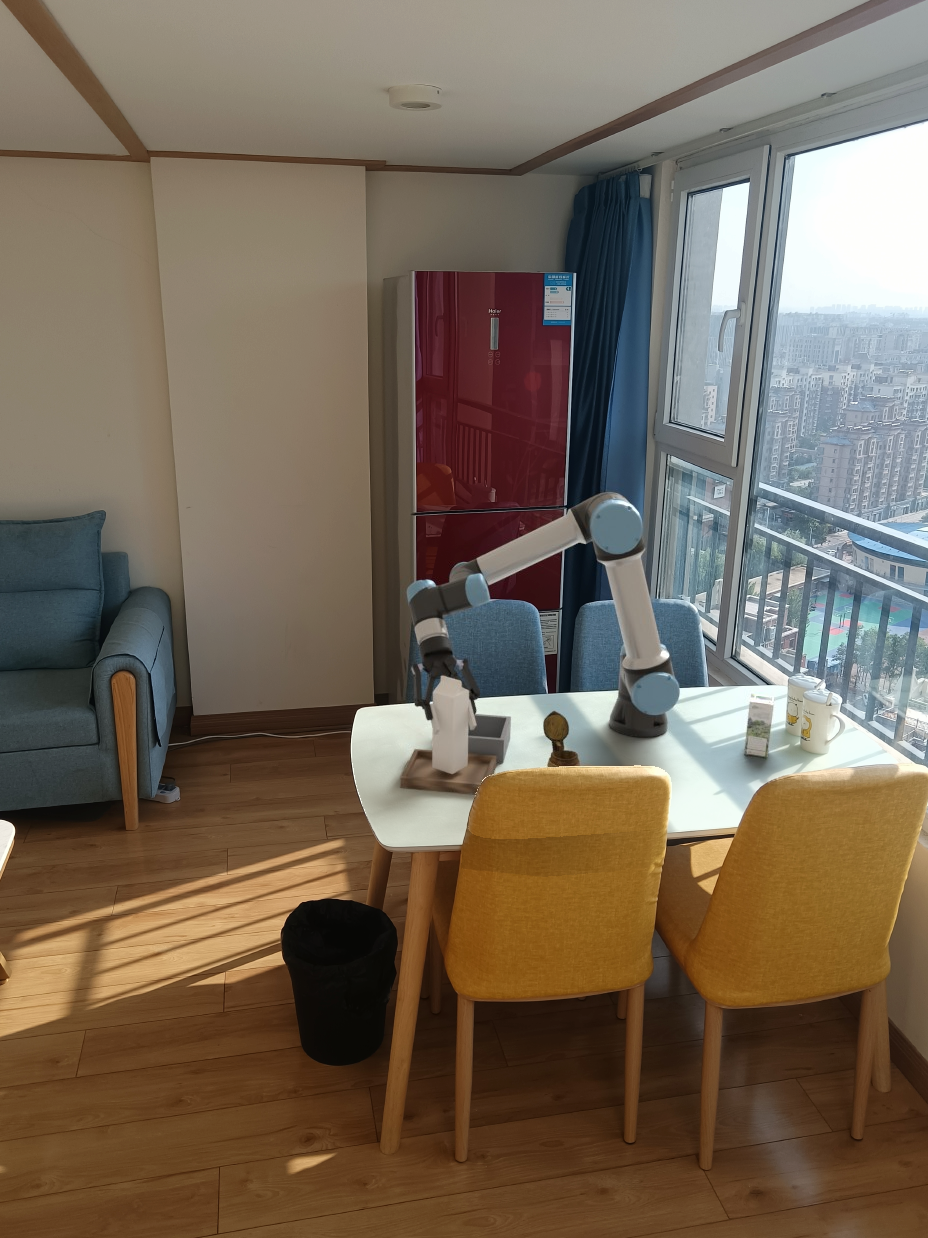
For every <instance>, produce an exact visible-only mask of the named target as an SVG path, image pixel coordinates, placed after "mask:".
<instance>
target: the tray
mask: <svg viewBox="0 0 928 1238" xmlns="http://www.w3.org/2000/svg"><path fill="white" fill-rule="evenodd" d="M496 760H497V756H495V755H483V754H470V753H468V765H467V766H466V767H464V768H463V769H461V770H459V771H457V772H456V773H454V774H450V773H447V772H444V771H441V770H439V769H436V768H433V767H432V749H420V748H414V749H413V752H412V753H411V756H410V757H409V760H408V762H407V764H406V765H405V768H404V770H403V771H402V774H401V775H400V780H399V783H400V788H401V789H411V790H422V791H423V790H424V791H435V792H442V793H443V792H444V793H456V794H468V793H469V794H468V795H476V794H475V793H476V792H477V789H478V787H479V786H480V784H481V782H482V780H483V779H484V778H485V777H487V776H489V775H492V774H494V775H495V771H496V767H497V763H496ZM470 793H472V794H470Z"/></svg>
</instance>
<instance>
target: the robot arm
mask: <svg viewBox="0 0 928 1238" xmlns="http://www.w3.org/2000/svg"><path fill="white" fill-rule="evenodd" d="M643 527H644V524H643V520H642V517H641V514H640V512H639V510H637V508H636V507H635V505H633V504H632V503H630V502H629V500H628V499H627V498H626V497H625V496H623V495H621V494H620V493H617V492H613V491H606V492H601V493H598V494H596V495H594V496H592V497H589V498H587V499H586V500H583V501H582V502H581V503H579V504H577V505H575V506H573V507H571V508H569V509H568V510H567V513H566V515H564V516H562V517H559V518H557V519H555V520H553V521H550V522H549V523H547V524H544V525H542V526H540V527H539V528H537V529H535V530H532V531H530V532H528V533H526V534H524V535H522V536H520V537H518V538H516V539H514V540H511V541H509V542H507V543H505V544H503V545H501V546H499V547H497V548H494V549H493V550H491V551H489V552H487V553H485V554H482V555H480V556H479V557H477V558H475V559H473V560H470V561H468V562H467V561H466V562H465V561H463V562H458V563H457V564H456V565H454V567H453V568H452V569H451V571H450V572H449V573H450V574H449V577H448V579H449V580H448V581H449V582H447V583H443V584H439V585H436V583H435V582H434V581H433V580H431V579H423V580H422V579H420V580H416V581H414V582H412V583H411V584H410V585H409V586H408V587H407V589H406V597H407V602H408V603H407V606H408V609H409V613H410V617H411V620H412V625H413V629H414V632H415V636H416V641H417V644H418V650H419V654H420V658H421V663H413V664H412V666H411V668H410V672H411V674H412V677H413V694H414V695H413V700H414V706H415V707H416V708H417V707H421V708H422V710H423V711H424V715H425V719H426V720H427V721H430V723H431V728H432V733H433V732H434V735H437V734H438V732H439V731H440V728H439V724H438V719H437V715H436V711H435V707H434V704H433V703H431V700H432V697H433V691H434V686H435V680H441V676H445V677H449V678H453V679H456V680H460V681H461V682H462V688H464V689H467V690H469V712H468V722H469V726H470V730H474V728H475V727H476V725H477V724H476V720H475V717H474V715H475V714H477V707H476V702H475V701H477V700H478V699H479V698H480V695H481V690H480V688H479V687H478V684H477V683H476V680H475V677H474V676H473V674H472V672H471V669H470V667H469V660H468V658H466V657H465V658H463V659H457V658H456V657H455V655H454V652H453V648H452V644H451V640H450V638H449V633H448V628H447V624H446V621H445V617H447V616H450V615H453V614H456V613H460V612H463V611H466V610H471V609H472V608H478V607H480V606H482V605H484V604H486V603H488V602H489V601H490V600H491V596H490V591H489V588H488V586H490V585H492V584H494V583H496V582H497V583H498V582H499V581H501V580H504V579H505V578H507V577H509V576H511V575H514V574H516V573H518V572H519V571H523V570H524V569H527V568H528V567H530V566H533V565H534V564H536V563H539V562H541V561H543V560H546V559H547V558H550V557H552V556H553V555H556V554H558V553H561V552H563V551H564V550H567V549H568V548H570V547H573V546H574V545H576V544H577V545H578V543H581V544H585V545H586V544H588V543H591V542H592V543H593V544H592V545H593V549H594V552H595V556H596V560H597V562H599V563H601V564H603V565H604V566H605V570H606V574H607V578H608V583H609V587H610V588H609V589H610V590H611V596H612V600H613V603H614V609H615V612H616V616H617V620H618V624H619V629H620V632H621V637H622V641H623V644H622V646H621V648H620V649H621V650H620V652H619V656H620V660H619V675H618V676H619V677H618V689H617V690H618V692H617V693H618V694H617V699H616V701H615V703H614V704H613V705H614V706H613V707H612V710H611V713H610V715H609V727H610V728H611V729H612V730H614V732H615V731H616V732H617V733H620V734H623V735H625V736H630V737H635V738H651V737H657V736H661V735H663V734H664V733H665V732H667V730H668V725H669V724H668V723H669V720H668V717H667V712H669V711H671V710H672V709H673V708H674V707H675V706H676V704H677V703H678V701H679V699H680V696H681V695H680V694H681V693H680V692H681V691H680V690H681V689H680V683H679V682H678V680H677V678H676V676H675V672H674V669H673V663H672V660H671V655H670V653H669V651H668V650H667V647H666V645H664V644H662V643H661V641H660V635H659V632H658V628H657V627H658V626H657V623H656V617H655V614H654V609H653V605H652V601H651V600H652V599H651V597H650V592H649V587H648V584H647V579H646V574H645V570H644V565H643V562H642V555H643V553H645V551H646V545H645V540H644V536H643V532H644V531H643V530H644V528H643ZM456 666H457V668H458V670H459V671H460V672H461V675H462V677H460V676H459V674H458V672H457V670H456V669H455V667H456ZM423 671H424V672H426V674H428V679H427V684H426V687H425V694H424V699H423V694H422V693H423V692H422V672H423ZM462 678H463V680H464V681H463V680H462Z"/></svg>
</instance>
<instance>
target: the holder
mask: <svg viewBox="0 0 928 1238" xmlns="http://www.w3.org/2000/svg"><path fill="white" fill-rule="evenodd" d="M474 717H475V720H476V724H477V725H476V727H475V728H474V730H470V726H469V722H468V753H470V754H483V755H495V756H497V760H496V764H497V763H498V764H503V763H504V762H505V759H506V755H507V750H508V747H509V743H510V740H511V729H512V728H511V725H512V723H511V722H512V716H509V715H508V716H507V715H496V714H494V715H493V714H480V713H476V714H475V715H474Z"/></svg>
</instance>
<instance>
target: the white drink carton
mask: <svg viewBox="0 0 928 1238" xmlns="http://www.w3.org/2000/svg"><path fill="white" fill-rule="evenodd" d="M774 703H775V697H774V696H769V695H761V694H753V693H751V694H750V699H749V706H748V714H747V715H748V716H747V722H746V724H747V725H746V730H745V731H746V733H745V740H744V751H743V752H744V753H743V754H744V755H746V756H752V757H753V756H754V757H760V758H768V756H769V755H768V754H769V748H770V747H769V746H770V741H771V740H770V738H771V729H772V723H773V722H772V721H773V716H774V715H773V713H774Z"/></svg>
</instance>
